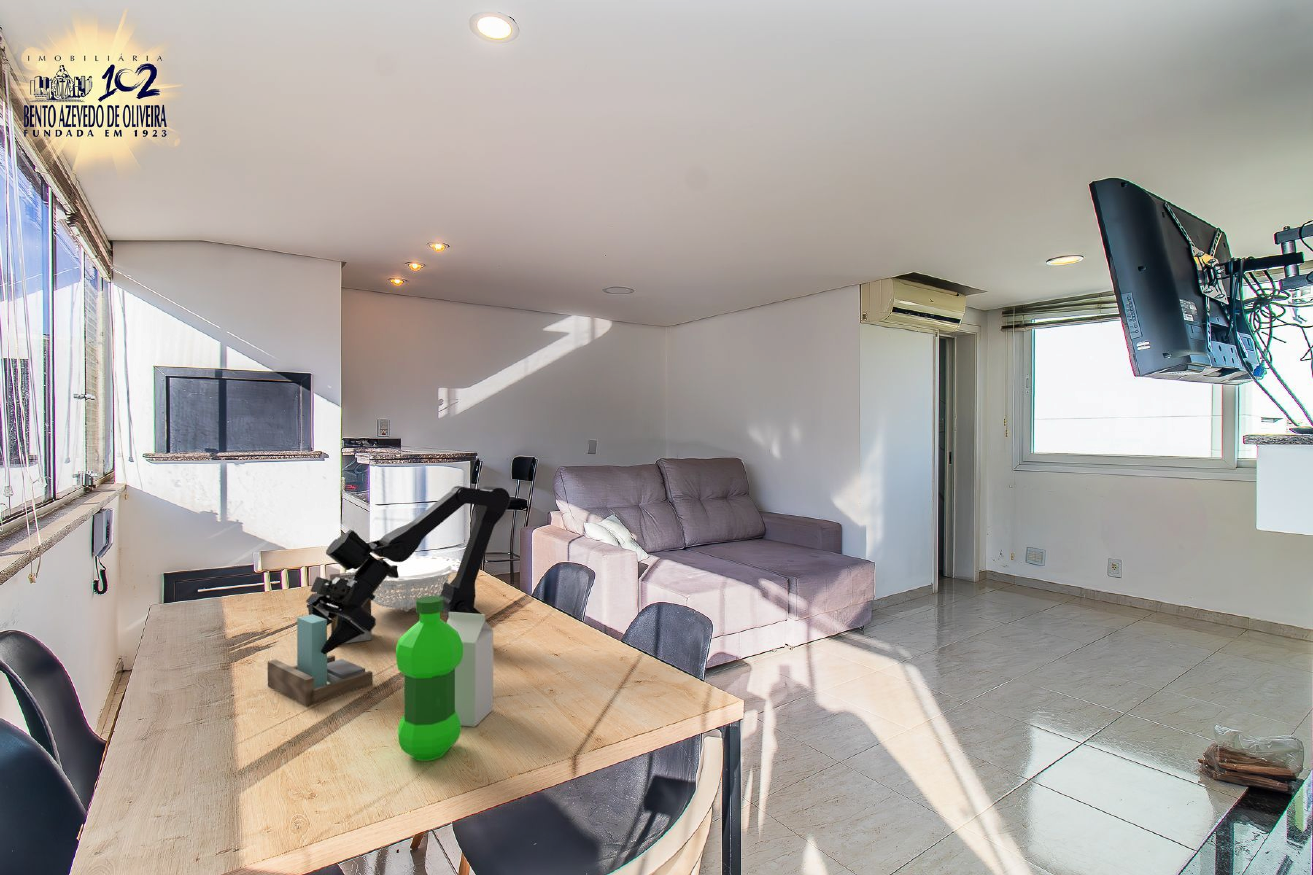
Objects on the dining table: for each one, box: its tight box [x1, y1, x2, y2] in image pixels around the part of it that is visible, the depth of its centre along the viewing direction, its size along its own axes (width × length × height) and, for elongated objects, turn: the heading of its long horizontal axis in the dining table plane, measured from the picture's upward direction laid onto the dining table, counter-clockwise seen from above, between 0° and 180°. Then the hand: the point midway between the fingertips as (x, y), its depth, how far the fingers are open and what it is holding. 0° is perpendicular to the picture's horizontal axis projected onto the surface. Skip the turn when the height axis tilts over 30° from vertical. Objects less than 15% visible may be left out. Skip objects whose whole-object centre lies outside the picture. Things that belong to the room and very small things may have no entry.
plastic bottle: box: [395, 595, 463, 762], centre depth 105 cm, size 10×10×25 cm
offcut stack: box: [327, 658, 366, 684], centre depth 135 cm, size 11×5×2 cm, turn 54°
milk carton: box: [446, 612, 494, 727], centre depth 118 cm, size 7×7×19 cm
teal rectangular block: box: [296, 614, 328, 689], centre depth 130 cm, size 6×3×14 cm, turn 54°
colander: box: [345, 555, 461, 613], centre depth 183 cm, size 32×32×13 cm
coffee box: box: [329, 572, 373, 645], centre depth 160 cm, size 9×6×16 cm
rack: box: [267, 654, 374, 707], centre depth 132 cm, size 16×13×5 cm
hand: (311, 648), depth 130 cm, fingers open, 9 cm apart
